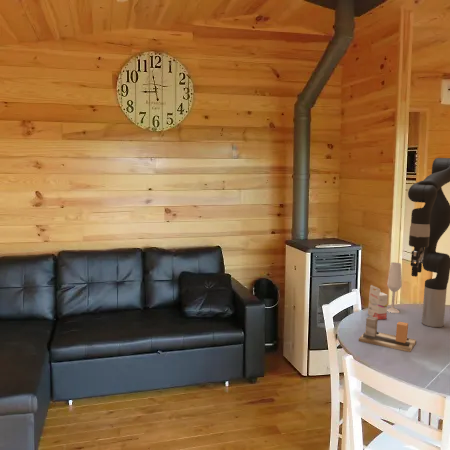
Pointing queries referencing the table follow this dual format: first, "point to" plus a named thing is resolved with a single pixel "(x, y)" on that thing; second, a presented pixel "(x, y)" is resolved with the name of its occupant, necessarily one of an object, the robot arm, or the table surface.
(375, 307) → the ink cartridge box
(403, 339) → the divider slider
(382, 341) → the pitch plate
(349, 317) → the table surface
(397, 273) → the champagne flute
